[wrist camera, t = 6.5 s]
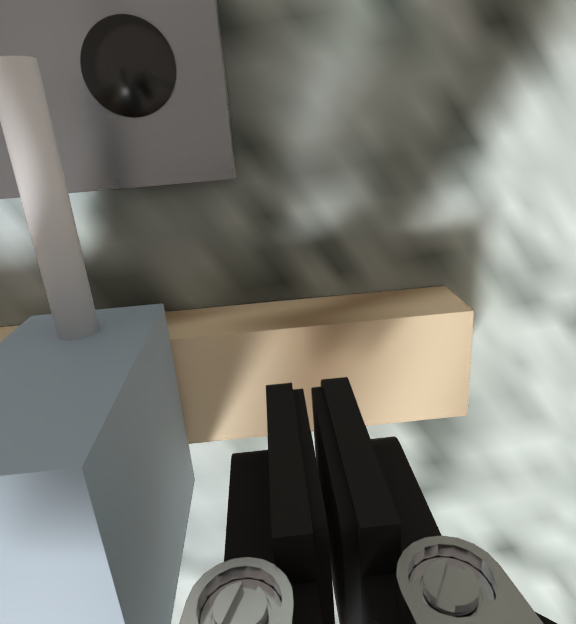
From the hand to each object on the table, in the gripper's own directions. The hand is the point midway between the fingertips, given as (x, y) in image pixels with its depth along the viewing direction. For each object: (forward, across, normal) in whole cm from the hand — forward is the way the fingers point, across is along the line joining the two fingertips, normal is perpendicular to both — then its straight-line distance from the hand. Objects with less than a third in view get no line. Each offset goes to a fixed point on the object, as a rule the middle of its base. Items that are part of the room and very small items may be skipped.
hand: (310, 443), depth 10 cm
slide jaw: (+2, +4, -2) cm, 6 cm away
